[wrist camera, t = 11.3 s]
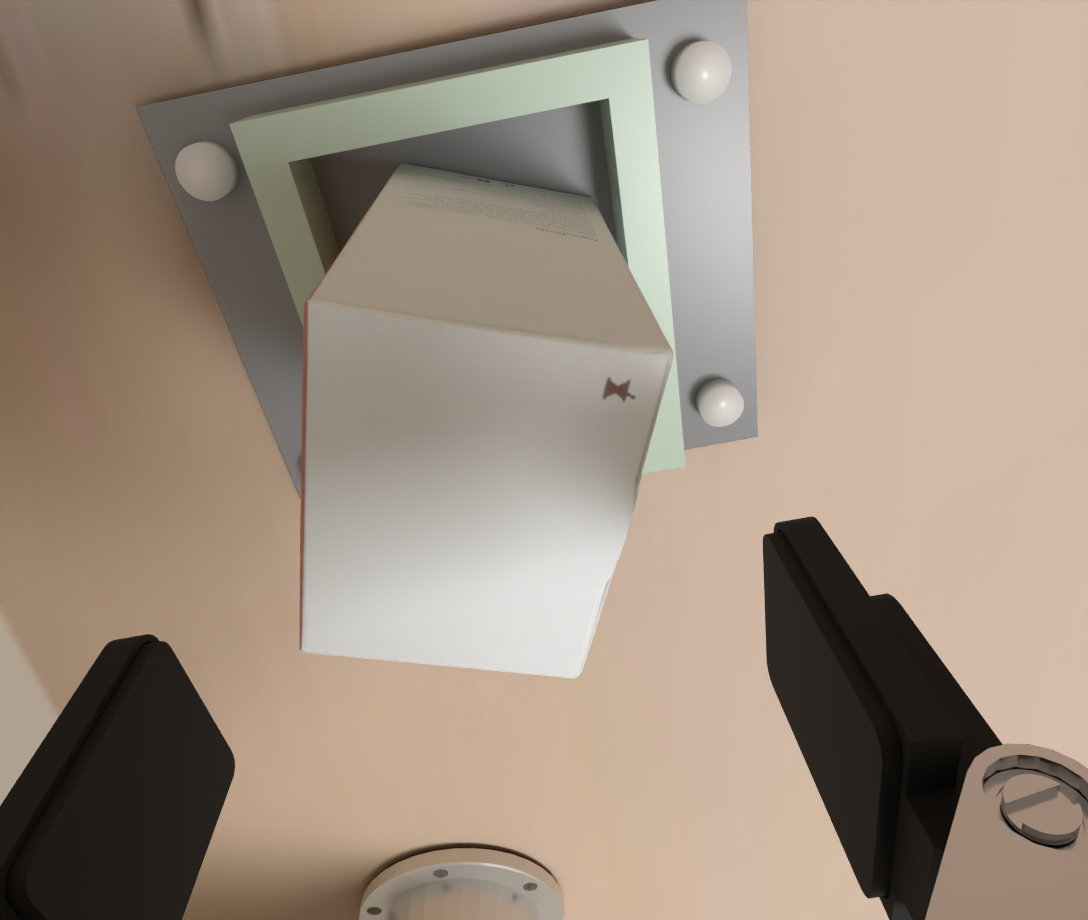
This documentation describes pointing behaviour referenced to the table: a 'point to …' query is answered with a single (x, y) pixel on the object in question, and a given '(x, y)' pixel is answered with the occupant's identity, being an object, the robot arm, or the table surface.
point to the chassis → (503, 155)
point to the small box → (472, 427)
